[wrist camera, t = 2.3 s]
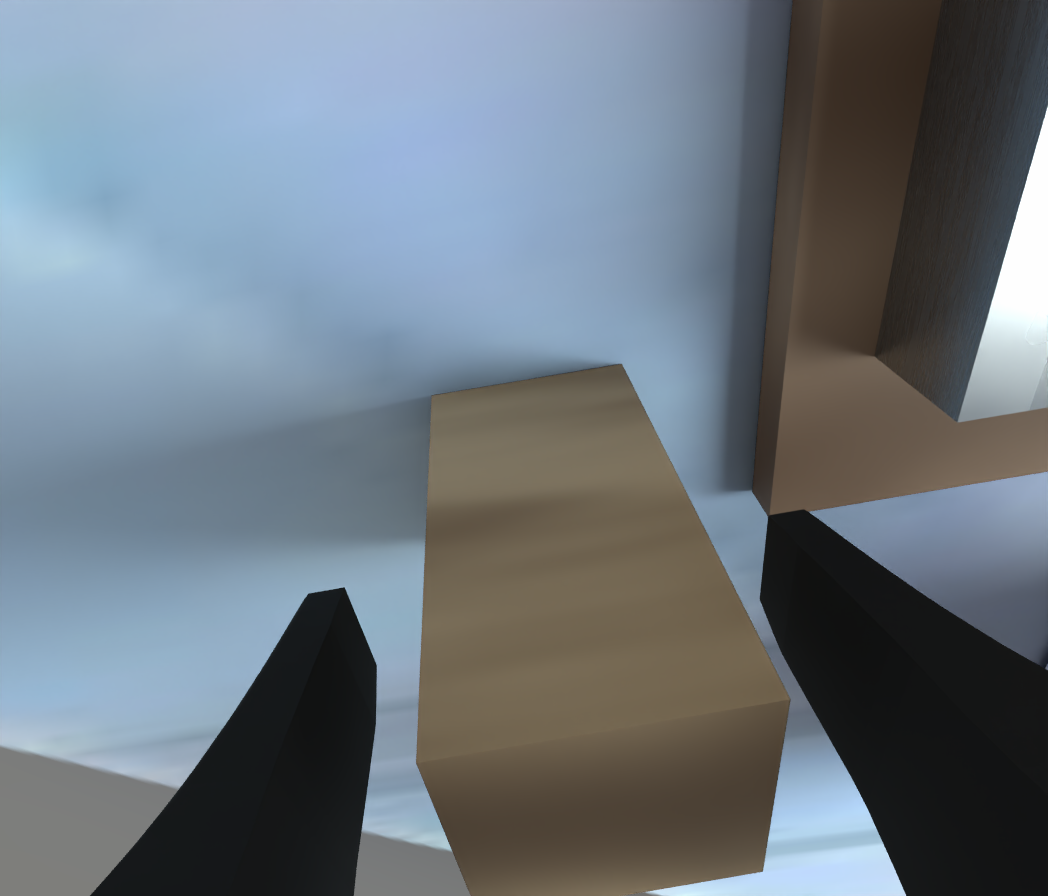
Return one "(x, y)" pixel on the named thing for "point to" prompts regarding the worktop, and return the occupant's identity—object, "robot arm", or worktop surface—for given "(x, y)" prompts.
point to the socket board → (907, 253)
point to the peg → (584, 653)
